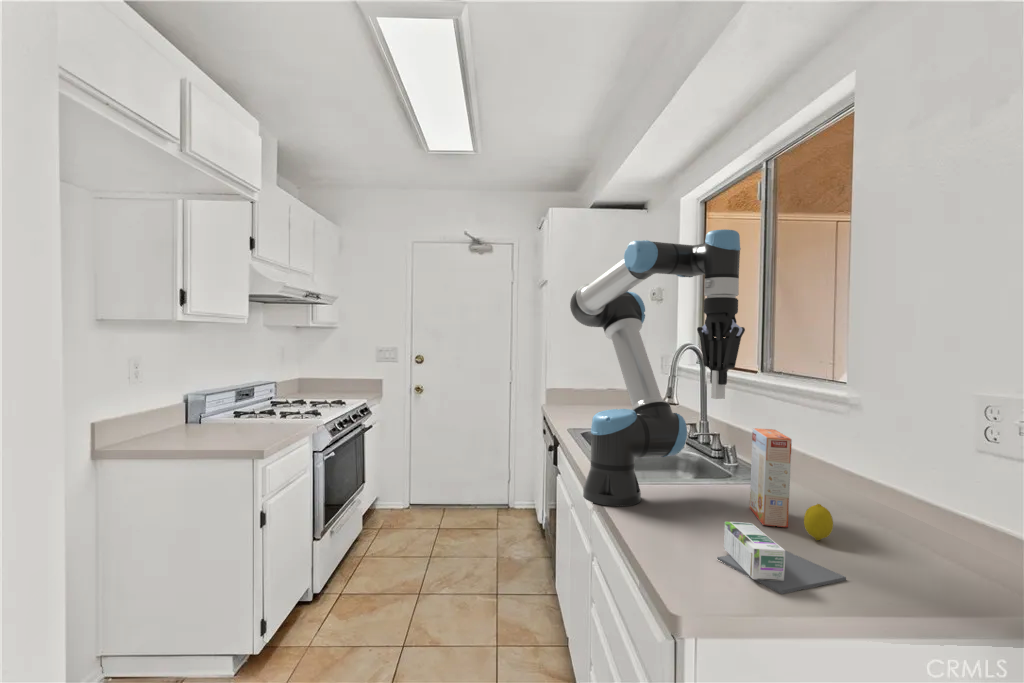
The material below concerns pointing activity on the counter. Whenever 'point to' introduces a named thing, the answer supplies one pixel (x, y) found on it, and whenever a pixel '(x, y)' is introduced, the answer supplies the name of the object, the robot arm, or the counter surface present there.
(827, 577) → the mat
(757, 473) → the cracker box
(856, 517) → the counter surface
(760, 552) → the syrup box
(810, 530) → the lemon
